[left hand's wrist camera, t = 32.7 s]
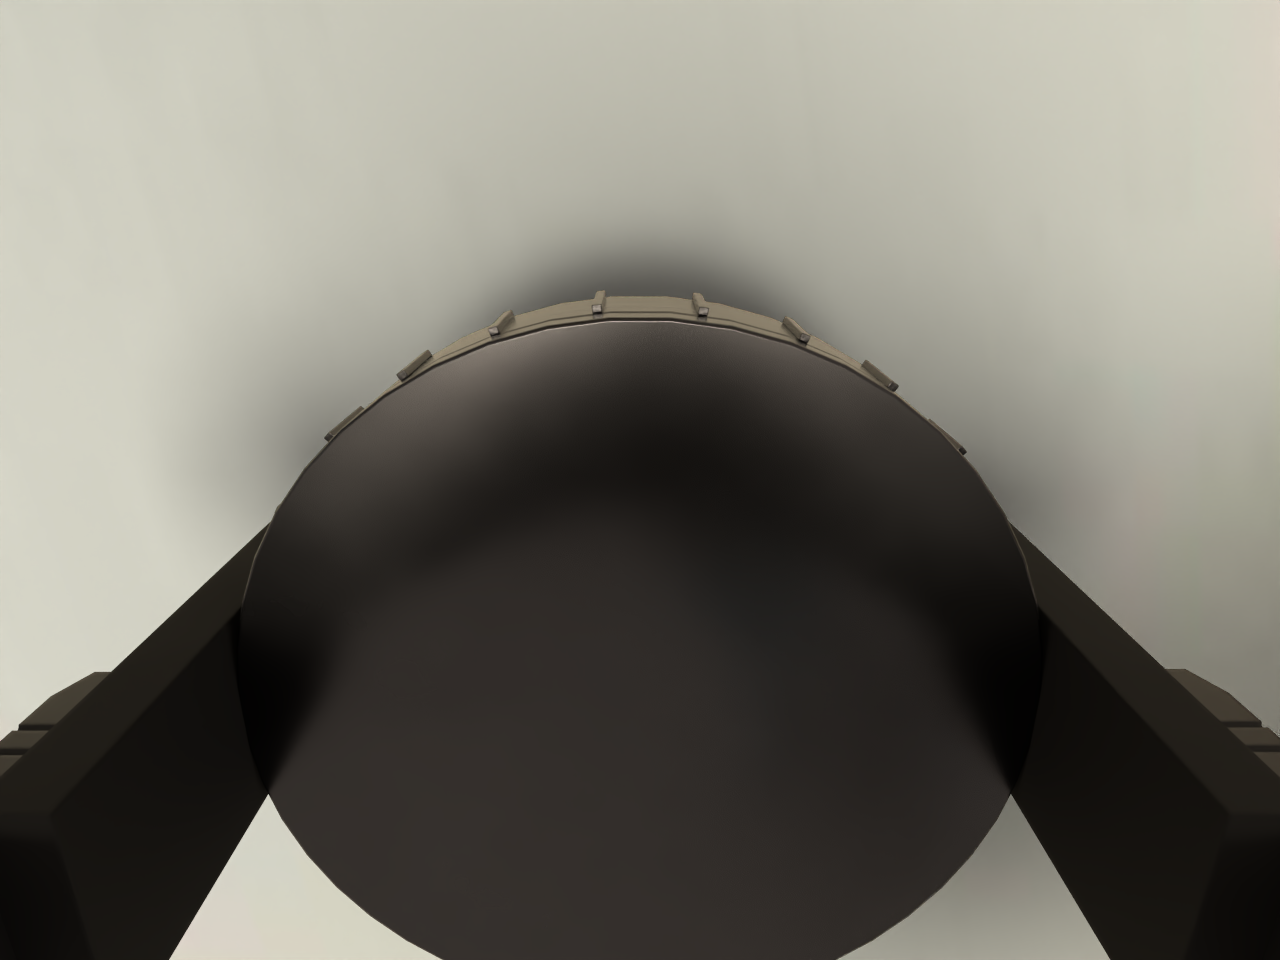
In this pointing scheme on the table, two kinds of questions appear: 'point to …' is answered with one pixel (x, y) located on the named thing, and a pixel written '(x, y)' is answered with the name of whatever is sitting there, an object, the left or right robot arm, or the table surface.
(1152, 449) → the table surface
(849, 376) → the lid
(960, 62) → the table surface
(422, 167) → the table surface
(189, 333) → the table surface
